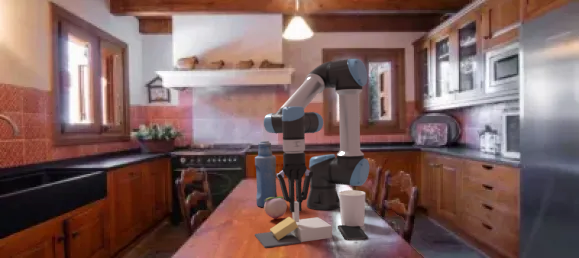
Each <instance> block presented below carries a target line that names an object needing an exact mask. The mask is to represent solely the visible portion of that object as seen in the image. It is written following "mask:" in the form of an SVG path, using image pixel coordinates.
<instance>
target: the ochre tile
mask: <svg viewBox="0 0 579 258" xmlns="http://www.w3.org/2000/svg"><path fill="white" fill-rule="evenodd" d="M296 228H298V226H297V224H296V222H295V220H293V217H290V216H288V217H286V218H284V219H283V220H281V221H280V222H278V223H277V224H275V225H274V226H272V227H271V228H269V232H271V233H272V235H273V236H274V237H275V238H276V239H277V240H279V239H281V238H283V237H284V236H286V235H287V234H289V233H290V232H292V231H293V230H295V229H296Z"/></svg>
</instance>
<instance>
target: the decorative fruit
mask: <svg viewBox="0 0 579 258" xmlns="http://www.w3.org/2000/svg"><path fill="white" fill-rule="evenodd" d="M266 200H267V201H266ZM266 200H265V201H266V202H265V204H264V207H263V209H264V212H265V214H266V215H267V216H268V217H270V218H272V219H274V220H277V219H279V218H281V217H283V216H284V215H285V214H286V212H287V208H288V204H287V201H285V200H284V197H283V196H281V195H280V196H278V195H277V197H276V194H275V198H274V197H269V198H267V199H266Z"/></svg>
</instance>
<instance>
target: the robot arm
mask: <svg viewBox="0 0 579 258" xmlns="http://www.w3.org/2000/svg"><path fill="white" fill-rule="evenodd" d="M367 71H368V70H367V67H366V66H365V64H364V62H363V61H362V60H361V59H360V58H348V59H347V58H345V59H340V60H332V61H325V62H324V63H321V64H319V65H318V66H316V67H315V68H313V69H312V70H311V71H309V73H308V74H307V75H306V76H305V78H304V80H303V83H302V84H301V85H300V86H299V87H298V88H297V89H296V91H295V92H293V94H292V95H291V96H290V97H288V99H286V101H285V102H284V104H283V105H281V107H280V108H278V109H277V111H276V112H271V113H268V114H266V115H265V116H264V119H263V127H264V129H265V132H267V133H271V134H276V135H277V134H282V151H283V154H282V159H283V160H282V163H283V167H282V169H281V170H280V171H279V173H277V172H276V179H278V181H279V185H280V189H281V192H282V197H284V198H283V199H284V200H285V201H286V203H287V202H288V203H289V212H291V214H292V219H293V220H295V222H299V219H300V212H302V207H303V206H302V203H303V201H305V200H306V207H307V208H308V209H312V210H318V211H319V210H324V211H325V210H335V209H339V208H340V200H339V193H338V190H337V185H342V186H344V185H345V186H350V187H354V186H356V187H357V186H359V187H361V186H363V185H364V184H365V183H366V181H367V179H368V178H369V174H370V173H369V172H370V163H369V160H368V159H367V158H365V153H364V152H363V151H361V133H360V131H361V129H360V128H361V127H360V122H361V121H360V94H361V93H362V92H363V87H364V86H366V85H367V83H368V72H367ZM327 89H334V91H335V92H336V94H337V95H338V108H339V109H338V116H339V119H338V120H339V151H338V152H337V153H336V154H334V153H331V154H323V155H315V156H312V157H311V158H310V159H309V165H308V167H307V165H306V153H305V151H306V136H305V134H315V133H319V132H320V131H321V130H322V129H323V126H324V119H323V116H322V115H321V114H320V113H318V112H315V111H308V112H305V110H306V107H308V106H309V105H310V104H311V102H312V101H313V99H314V98H315V97H316V96H317V95H318V94H321V93H322V92H323V91H324V90H327ZM308 168H309V169H308ZM304 175H305V176H304ZM285 176H286V178H287V182H288V189H287V184H286V181H285ZM303 177H304V181H303ZM302 182H303V185H302ZM295 200H296V201H295Z"/></svg>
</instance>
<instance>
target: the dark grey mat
mask: <svg viewBox="0 0 579 258" xmlns="http://www.w3.org/2000/svg"><path fill="white" fill-rule="evenodd" d="M254 236H255V238H256V239H257V240H258V241H259V243H260V244H261V245H262V246H263V247H264V248H265V249H267V248H274V247H281V246H288V245H296V244H301V243H302V242H301V241H300V240H299V239H297V238H296V237H295V236H294V235H293V234H292V233H291V232H290V233H289V234H287V235H286V236H284V237H283V238H281V239H279V240H277V239H276V238H275V237H274V236H273V235H272V233H271V231H268V232H259V233H254Z"/></svg>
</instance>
